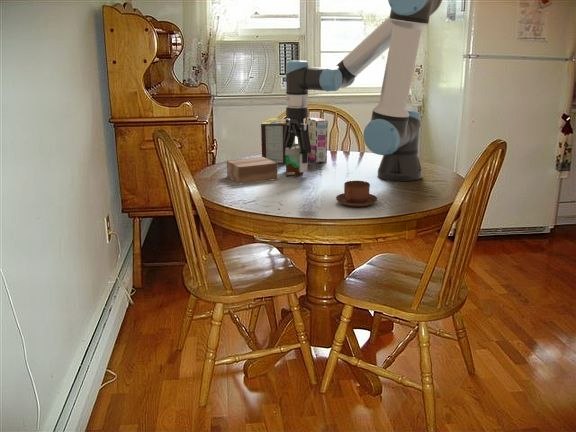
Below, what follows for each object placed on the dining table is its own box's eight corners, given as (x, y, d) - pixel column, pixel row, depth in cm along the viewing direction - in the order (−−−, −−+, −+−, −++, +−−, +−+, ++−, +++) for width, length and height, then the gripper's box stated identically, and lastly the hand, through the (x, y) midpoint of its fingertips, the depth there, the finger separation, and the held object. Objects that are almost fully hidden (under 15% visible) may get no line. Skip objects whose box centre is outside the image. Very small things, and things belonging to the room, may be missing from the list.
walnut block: (277, 180, 198) (277, 163, 196) (239, 184, 192) (238, 167, 190) (263, 173, 208) (263, 156, 206) (227, 177, 203) (226, 160, 201)
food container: (302, 178, 199) (302, 149, 196) (285, 177, 200) (285, 149, 197) (309, 170, 210) (309, 143, 207) (293, 170, 211) (293, 143, 209)
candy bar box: (327, 162, 224) (328, 120, 219) (315, 163, 222) (315, 121, 218) (317, 157, 234) (318, 116, 229) (306, 158, 233) (306, 117, 228)
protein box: (295, 156, 236) (295, 118, 232) (287, 164, 222) (287, 123, 217) (270, 155, 238) (270, 117, 234) (261, 163, 224) (260, 123, 219)
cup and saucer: (374, 211, 161) (375, 190, 159) (332, 208, 164) (332, 187, 162) (379, 200, 172) (380, 180, 170) (340, 197, 175) (340, 177, 173)
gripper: (273, 103, 208) (274, 162, 214) (301, 111, 187) (300, 176, 194) (292, 102, 211) (292, 161, 217) (321, 110, 190) (320, 174, 197)
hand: (296, 168), depth 206 cm, fingers closed on food container, 11 cm apart
